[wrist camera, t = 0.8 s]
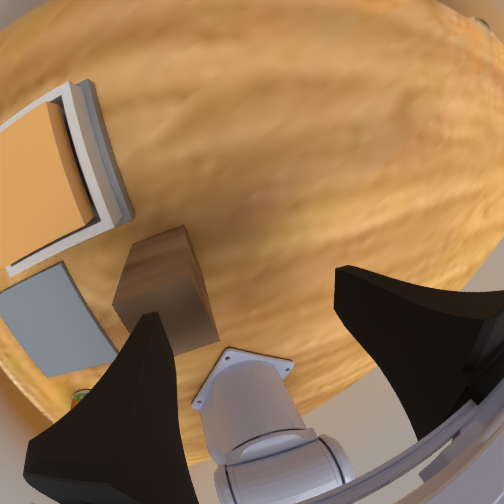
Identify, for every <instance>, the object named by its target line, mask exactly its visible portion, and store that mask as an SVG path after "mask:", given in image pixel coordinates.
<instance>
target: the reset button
mask: <svg viewBox="0 0 504 504" xmlns="http://www.w3.org/2000/svg"><path fill="white" fill-rule="evenodd" d="M94 216H95V213H94V211H93V208H92V206H91V203H90V201H89V198H88V196H87V193H86V190H85V187H84V185H83V182H82V179H81V176H80V173H79V170H78V167H77V164H76V161H75V158H74V155H73V152H72V148H71V145H70V141H69V138H68V134H67V131H66V127H65V123H64V119H63V115H62V111H61V107H60V105H58V104H55V103H51V102H48V101H45V102H43V103H42V104H40V105H39V106H37V107H35V108H34V109H32V110H31V111H29V112H28V113H26V114H25V115H24V116H22V117H21V118H19V119H18V120H17V121H15V122H14V123H12V124H11V125H10V126H8V127H7V128H6V129H5V130H3V131H2V132H1V133H0V267H1V269H3V268H5V267H7V266H9V265H10V264H12V263H14V262H15V261H17V260H19V259H21V258H22V257H24V256H26V255H28V254H30V253H31V252H33V251H35V250H37V249H39V248H41V247H43V246H45V245H46V244H48V243H50V242H52V241H54V240H56V239H58V238H60V237H62V236H64V235H66V234H68V233H70V232H72V231H74V230H76V229H79V228H81V227H83V226H85V225H86V224H87V223H88V222H89V221H90V220H91V219H92V218H93V217H94Z"/></svg>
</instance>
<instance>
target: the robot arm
mask: <svg viewBox="0 0 504 504" xmlns="http://www.w3.org/2000/svg"><path fill="white" fill-rule="evenodd" d="M334 310H335V312H336V313H337V315H338V317H339V318H340V320H341V321H342V323H343V324H344V326H345V327H346V328H347V330H348V331H349V332H350V333H351V334H352V335H353V337H354V338H355V339H356V340H357V341H358V342H359V343H360V345H361V346H362V347H363V348H364V349H365V350H366V351H367V353H368V354H369V355H370V356H371V357H372V358H373V360H374V361H375V362H376V363H377V365H378V366H379V367H380V369H381V370H382V372H383V373H384V375H385V376H386V378H387V380H388V381H389V382H390V384H391V386H392V388H393V389H394V391H395V392H396V394H397V396H398V398H399V400H400V401H401V404H402V406H403V408H404V410H405V412H406V414H407V416H408V418H409V420H410V422H411V425H412V427H413V429H414V432H415V434H416V437H417V439H418V442H417V443H416V444H414V445H413V446H411V447H410V448H408V449H407V450H405V451H404V452H402V453H401V454H399V455H397V456H396V457H394V458H392V459H391V460H389V461H388V462H386V463H384V464H382V465H381V466H379V467H377V468H375V469H373V470H372V471H370V472H368V473H366V474H364V475H362V476H360V477H358V478H356V479H355V476H354V471H353V467H352V464H351V462H350V460H349V458H348V456H347V454H346V452H345V451H344V449H343V447H342V446H341V445H340V443H339V442H338V441H337V440H335V439H334V438H331V437H329V436H327V435H325V434H322V435H320V436H317V435H316V433H315V431H314V429H313V428H309V429H307V428H306V426H305V424H304V422H303V420H302V418H301V416H300V414H299V412H298V410H297V408H296V406H295V404H294V402H293V400H292V398H291V396H290V394H289V392H288V390H287V388H286V386H285V384H284V382H283V380H284V378H285V377H286V376H287V375H288V373H289V372H290V371H291V370H292V368H293V367H294V363H293V361H289V360H284V359H279V358H273V357H268V356H264V355H259V354H254V353H249V352H245V351H241V350H236V349H232V348H228V349H226V350H225V351H224V353H223V354H222V356H221V357H220V359H219V361H218V362H217V364H216V366H215V367H214V369H213V370H212V372H211V374H210V375H209V377H208V379H207V380H206V382H205V383H204V385H203V387H202V388H201V390H200V391H199V393H198V394H197V396H196V398H195V399H194V401H193V402H192V404H191V406H192V408H193V409H197V410H200V414H201V419H202V424H203V429H204V434H205V439H206V443H207V448H208V451H209V454H210V456H211V457H212V459H213V460H214V461H215V462H216V463H217V464H218V465H219V466H218V468H217V470H216V471H215V473H214V481H215V486H216V491H217V494H218V498H219V501H220V503H221V504H359V503H358V500H361V499H362V498H364V497H366V496H368V495H370V494H372V493H374V492H376V491H377V490H379V489H381V488H383V487H384V486H386V485H388V484H390V483H391V482H393V481H394V480H396V479H398V478H399V477H401V476H402V475H404V474H405V473H407V472H409V471H410V470H411V469H413V468H414V467H416V466H417V465H419V464H420V463H421V462H423V461H424V460H425V459H427V458H428V457H430V456H431V455H432V454H433V453H435V452H436V451H437V450H439V449H440V448H441V447H442V446H443V445H445V444H446V443H447V442H448V441H450V440H451V439H452V438H453V439H452V443H451V444H450V445H449V446H447V447H446V448H445V449H444V450H443V451H442V452H441V453H440V454H439V455H438V456H437V457H436V459H434V460H433V461H432V462H431V463H430V464H429V465H428V466H427V467H426V468H424V469H423V470H422V471H421V472H420V473H419V476H420V477H421V479H422V480H423V482H424V484H423V485H421V486H420V487H418V488H417V489H416V490H414V491H413V492H412V493H410V494H408V495H407V496H405V497H404V498H402V499H401V500H399V501H397V502H396V503H395V504H504V290H502V291H491V292H458V291H448V290H440V289H434V288H429V287H424V286H419V285H415V284H411V283H407V282H404V281H400V280H397V279H394V278H390V277H387V276H384V275H381V274H378V273H375V272H371V271H368V270H365V269H362V268H358V267H354V266H350V265H346V266H342V267H339V268H335V291H334ZM227 356H229V357H227ZM225 357H227V358H225ZM23 477H24V478H25V480H26V482H28V484H29V485H31V486H32V487H33V488H35V489H36V490H38V491H39V492H41V493H43V494H44V495H46V496H48V497H49V498H51V499H53V500H55V501H57V502H58V503H60V504H199V502H198V500H197V497H196V494H195V491H194V487H193V484H192V481H191V477H190V474H189V470H188V466H187V462H186V458H185V454H184V450H183V445H182V440H181V435H180V430H179V421H178V404H177V380H176V368H175V362H174V355H173V350H172V348H171V345H170V343H169V340H168V337H167V335H166V332H165V330H164V327H163V324H162V322H161V319H160V316H159V313H158V311H157V312H152V313H147V314H143V315H142V316H141V318H140V320H139V321H138V323H137V324H136V326H135V328H134V329H133V331H132V333H131V335H130V336H129V338H128V340H127V341H126V343H125V344H124V346H123V348H122V349H121V351H120V352H119V354H118V355H117V357H116V358H115V360H114V361H113V362H112V364H111V365H110V367H109V368H108V370H107V371H106V372H105V374H104V375H103V376H102V377H101V379H100V380H99V381H98V382H97V383H96V385H95V386H94V387H93V388H92V389H91V390H90V391H89V392H88V393H87V394H86V395H85V396H84V397H83V399H82V400H81V401H80V402H79V403H78V404H77V405H76V406H75V407H74V408H73V409H71V410H70V411H69V412H68V413H67V414H66V415H65V416H63V417H62V418H61V419H60V420H59V421H57V422H56V423H55V424H53V425H52V426H51V427H50V428H48V429H46V430H45V431H44V432H42V433H41V434H39V435H38V436H36V437H35V438H33V439H32V440H30V441H29V443H28V449H27V453H26V459H25V465H24V471H23ZM29 504H34V503H29Z"/></svg>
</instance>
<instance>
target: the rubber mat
mask: <svg viewBox="0 0 504 504" xmlns="http://www.w3.org/2000/svg"><path fill="white" fill-rule="evenodd" d="M0 316H1V318H2V319H3V321H4V322H5V324H6V325H7V327H8V328H9V330H10V331H11V333H12V334H13V335H14V337H15V338H16V340H17V341H18V342H19V344H20V345H21V346H22V348H23V349H24V350H25V352H26V353H27V354H28V355H29V357H30V358H31V359H32V360H33V362H34V363H35V364H36V365H37V367H38V368H39V369H40V370H41V371H42V372H43V374H44V375H45V376H46V377H47V378H49V377H53V376H58V375H62V374H66V373H70V372H74V371H78V370H82V369H86V368H90V367H94V366H98V365H101V364H105V363H109V362H112V361H114V360H115V358H116V357H117V355H118V354H119V352H118V350H117V349H116V348H115V346H114V345H113V343H112V342H111V341H110V339H109V338H108V336H107V335H106V333H105V332H104V330H103V329H102V327H101V326H100V324H99V323H98V321H97V320H96V318H95V317H94V315H93V313H92V312H91V310H90V309H89V307H88V305H87V304H86V302H85V300H84V299H83V297H82V295H81V294H80V292H79V290H78V288H77V287H76V285H75V283H74V281H73V279H72V277H71V276H70V274H69V272H68V270H67V268H66V266H65V264H64V262H63V261H62V262H59V263H57V264H55V265H53V266H51V267H49V268H47V269H45V270H43V271H41V272H39V273H37V274H35V275H33V276H31V277H29V278H27V279H25V280H23V281H21V282H19V283H17V284H15V285H13V286H11V287H9V288H7V289H6V290H4V291H2V292H0Z"/></svg>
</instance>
